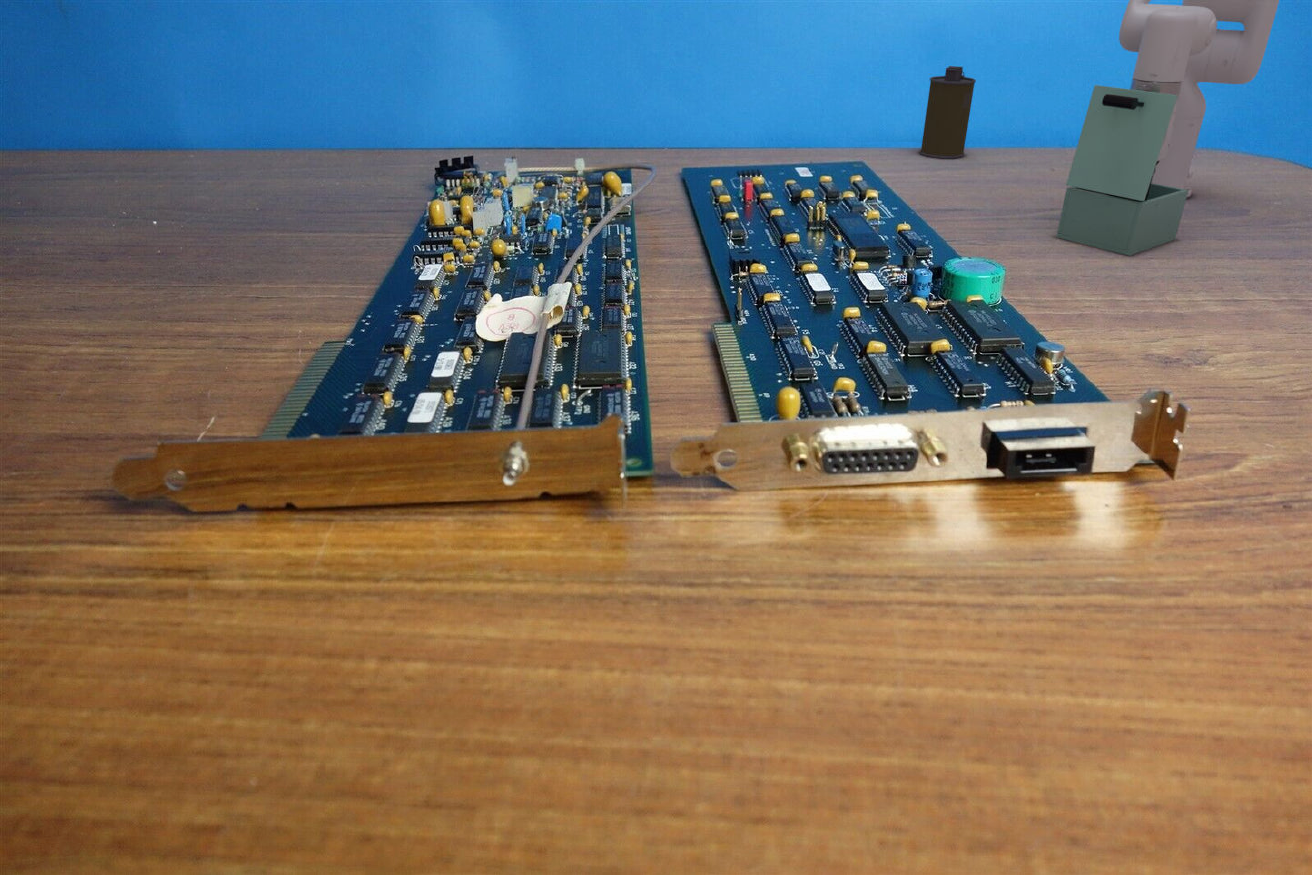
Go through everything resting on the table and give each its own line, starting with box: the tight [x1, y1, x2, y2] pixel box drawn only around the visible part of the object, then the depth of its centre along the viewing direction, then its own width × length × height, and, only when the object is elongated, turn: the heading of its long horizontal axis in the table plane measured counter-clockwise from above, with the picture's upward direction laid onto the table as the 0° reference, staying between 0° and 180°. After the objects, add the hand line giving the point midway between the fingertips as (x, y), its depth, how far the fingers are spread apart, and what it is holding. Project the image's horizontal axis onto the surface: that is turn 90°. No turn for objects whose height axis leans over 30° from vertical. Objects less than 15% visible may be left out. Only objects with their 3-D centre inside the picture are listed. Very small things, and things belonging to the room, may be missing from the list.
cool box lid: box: [1065, 84, 1178, 201], centre depth 153 cm, size 16×14×5 cm
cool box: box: [1056, 183, 1189, 257], centre depth 164 cm, size 16×14×9 cm
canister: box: [919, 65, 976, 160], centre depth 224 cm, size 11×10×20 cm
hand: (1127, 199), depth 163 cm, fingers closed on speaker, 6 cm apart
